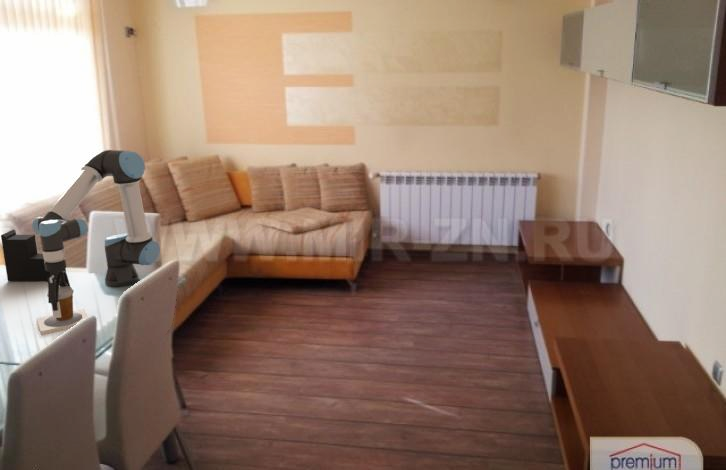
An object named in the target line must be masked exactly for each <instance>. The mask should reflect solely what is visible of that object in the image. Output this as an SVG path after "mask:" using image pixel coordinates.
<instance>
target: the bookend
mask: <svg viewBox="0 0 726 470" xmlns="http://www.w3.org/2000/svg"><path fill="white" fill-rule="evenodd" d="M0 239H1V245H2V251H3V257H4V265H5V271H6V277H7V282H48V280H47V279H48V278H50V275H51V273H50V272H49V271H46V270H45V265H44V262H45V260H44V257H43V254H42V252H41V253H38V249H37V241H36V235H35V234H17V231H16V230H15V229H11V230H9V231H7V232H5V233H3V234H1V235H0Z"/></svg>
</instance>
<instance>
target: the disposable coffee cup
mask: <svg viewBox="0 0 726 470" xmlns="http://www.w3.org/2000/svg"><path fill="white" fill-rule="evenodd" d="M73 294H74V289H73V288H72V287H71V285H70V286H65V287H60V286H59V294H58V301H59V303H60V310H61V318H56V319H57V320H61V321H62V320H67V319H70V318H72V317H73V311H74V296H73ZM46 296H47V297H48V293H47V295H46ZM50 304H51V303H50ZM51 306H52V304H51Z"/></svg>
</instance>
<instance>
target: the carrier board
mask: <svg viewBox="0 0 726 470" xmlns="http://www.w3.org/2000/svg"><path fill="white" fill-rule="evenodd" d="M87 317H89V315H88V313H87V312H86V310H85V308H82V309H77V310H76V309H75V310H73V317H72V318H70V319H67V320H62V321H61V320H57V319H56V318H53V314H52V315H46V316H41V317H36V318H35V319H36V323H37V326H38V329H39V331H40V335H48V334H53V333H56V332H61V331H66V330H70V329H69V328H71V327H73V326H74V325H76V324H77V323H78V322H80V321H81V320H83V319H85V318H87Z"/></svg>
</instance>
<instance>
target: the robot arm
mask: <svg viewBox="0 0 726 470" xmlns="http://www.w3.org/2000/svg"><path fill="white" fill-rule="evenodd" d="M145 170H146V165H145V161H144V158H143V157H142V156H141V155H140V154H139V153H138V152H135V151H131V150H121V149H120V150H115V149H105V150H102V151H100V152H98V153H96V154H95V155H93V156H92V157H91V158H89V160H87V161H86V162H85V163H84V164H83V166H82V167H81V172H80V173H79V174H78V176H77V177H76V178H75V179H74V180H73V181H72V183H71V184H70V185H69V186H68V187H67V189H66V190H65V191H64V192H63V193H62V194H61V195H60V196H59V198H58V200H57V201H55V203H54V204H53V205H52V206H51V208H50V209H49V210H48V211H47V212H46V214H45V215H44V216H38V217H35V218H34V219H33V221H32V223H31V228H32V231H33V232H34V234H36V235H39V239H40V243H41V244H40V245H41V250H42V252H41V253H42V254H43V257H44V260H45V262H44V265H45V270H46V271H49V272H50V273H51V275H50V278H48V279H47V280H48V281H47V288H48V289H47V290H48V291H47V294H48V296H47V298H48V299H47V300H48V301H47V302H48V304H52V305H51V311H52V315H53V318H61V310H60V303H59V301H58V294H59V286H60V287H65V286H70V287H71V284H70V281H69V278H68V274H67V270H66V269H67V261H66V253H65V248H64V243H65V242H68V241H72V240H75V239H79V238H81V237H84V236H86V234H87V233H88V230H89V228H88V227H89V226H88V223H87V222H86V221H85V220H84V219H83V218H79V217H78V218H72V219H69V217H70V216H71V215H72V213H73V212H74V211H75V210H76V209H77V207H79V205H80V204H81V203H82V202H83V200H84V199H85V198H86V197H87V196H88V194H89V193H90V192H91V190H92V189H93V188H94V187H95V185H96V184H97V183H100V182H102V181H103V180H104V179H105V178H106V177H112V178H113V183H114V184H115V185H116V186H118V191H119V194H120V201H121V204H122V205H121V206H122V210H123V215H124V216H123V217H124V221H125V225H126V229H127V233H120V234H119V233H118V234H114V235H110V236H108V237H106V238H105V239H104V251H105V252H104V253H105V261H106V267H107V269H106V272H105V273H106V274H105V278H104V283H105V285H106V286H108V287H115V288H118V287H126V286H131V285H134V284H136V283H138V282H139V281H140V280H139V279H140V278H139V277H140V276H139V273H138V272H137V269H136V267H135V265H140V266H151V265H154V264H155V263H156V262H157V260H158V258H159V256H160V250H161V247H160V244H159V243H158V242H157V241H156V240H154V239H153V235H152V233H151V232H149V231H148V226H147V220H146V215H145V210H144V206H143V199H142V194H141V189H140V182H141V181H142V177H143V175H144V174H145Z"/></svg>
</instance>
